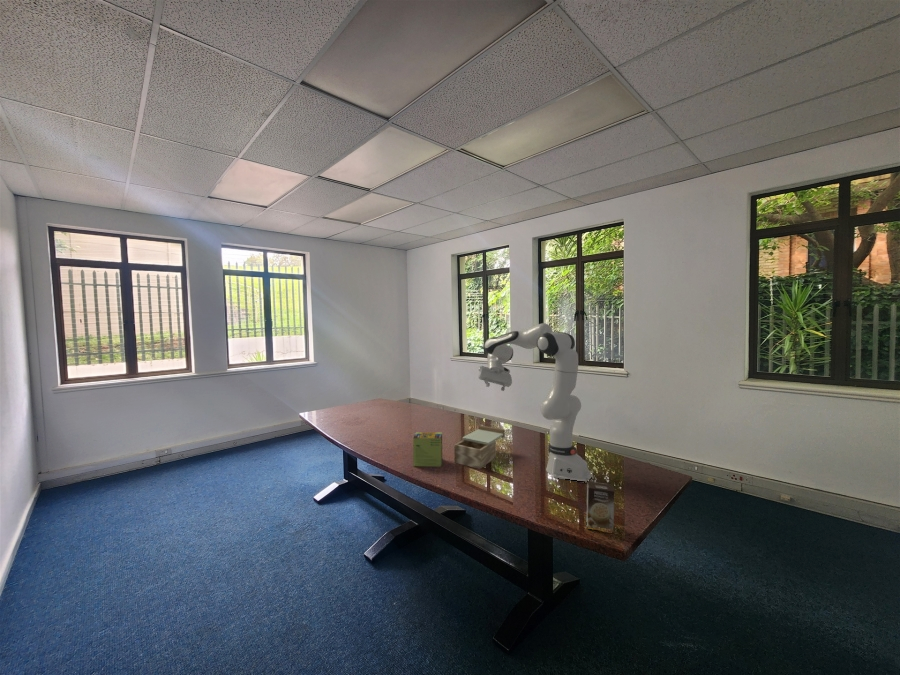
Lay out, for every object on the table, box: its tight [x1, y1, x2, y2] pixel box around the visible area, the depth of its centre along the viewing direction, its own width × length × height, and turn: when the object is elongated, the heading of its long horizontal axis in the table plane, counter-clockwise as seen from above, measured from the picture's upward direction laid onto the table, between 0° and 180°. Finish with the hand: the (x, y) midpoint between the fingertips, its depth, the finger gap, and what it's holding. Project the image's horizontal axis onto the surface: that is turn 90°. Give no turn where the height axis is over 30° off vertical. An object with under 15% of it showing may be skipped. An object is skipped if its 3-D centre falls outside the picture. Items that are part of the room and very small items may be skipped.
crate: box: [453, 439, 497, 470], centre depth 199 cm, size 16×18×10 cm
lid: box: [461, 424, 506, 445], centre depth 207 cm, size 17×21×4 cm
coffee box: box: [585, 480, 615, 531], centre depth 134 cm, size 9×6×16 cm
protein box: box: [412, 431, 443, 467], centre depth 196 cm, size 10×15×16 cm
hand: (495, 388), depth 206 cm, fingers open, 8 cm apart
